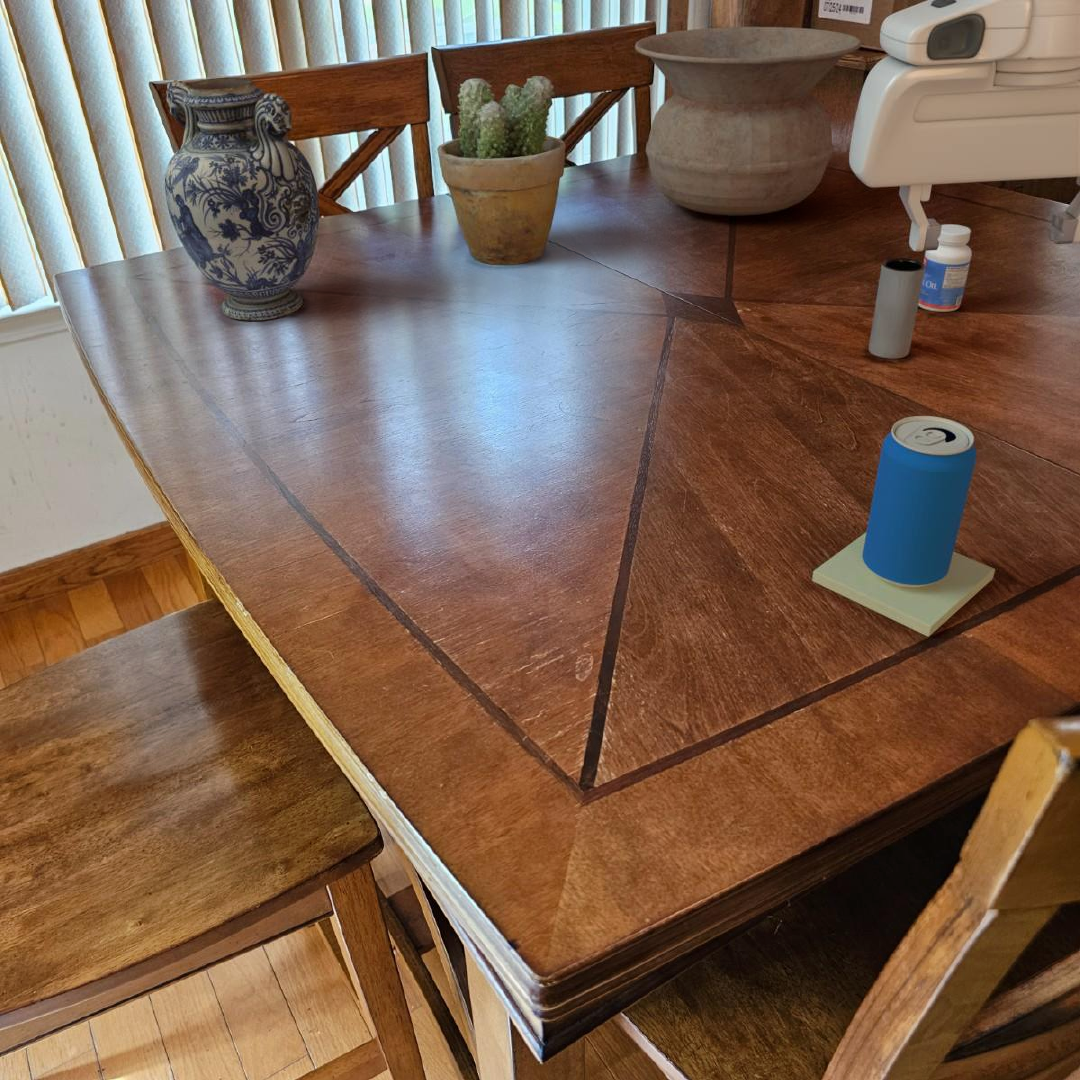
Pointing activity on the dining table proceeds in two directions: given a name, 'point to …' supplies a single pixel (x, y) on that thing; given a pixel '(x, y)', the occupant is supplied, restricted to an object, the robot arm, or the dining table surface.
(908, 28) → the robot arm
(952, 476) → the beverage can
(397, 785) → the dining table surface
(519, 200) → the potted plant
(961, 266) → the pill bottle
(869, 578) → the mat
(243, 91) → the decorative vase
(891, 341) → the grey cup
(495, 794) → the dining table surface
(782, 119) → the pot
